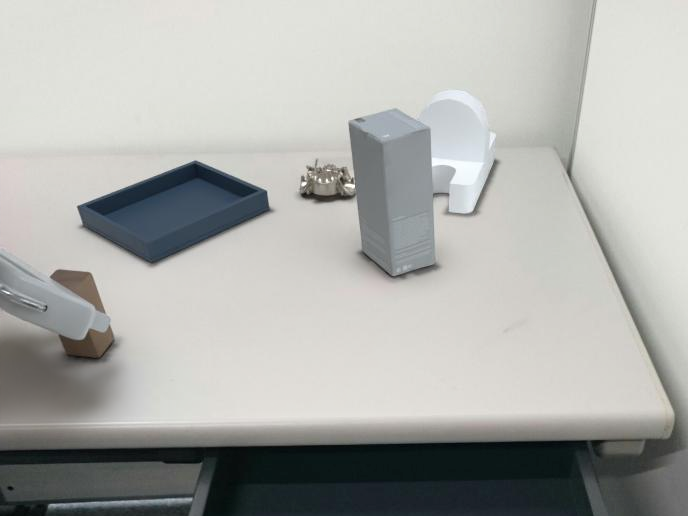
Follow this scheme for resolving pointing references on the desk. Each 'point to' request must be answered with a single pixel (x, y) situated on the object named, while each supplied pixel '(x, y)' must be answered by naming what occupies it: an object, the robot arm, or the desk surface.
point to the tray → (173, 210)
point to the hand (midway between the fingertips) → (79, 306)
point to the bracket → (459, 147)
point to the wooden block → (87, 290)
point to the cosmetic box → (394, 190)
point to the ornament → (327, 181)
